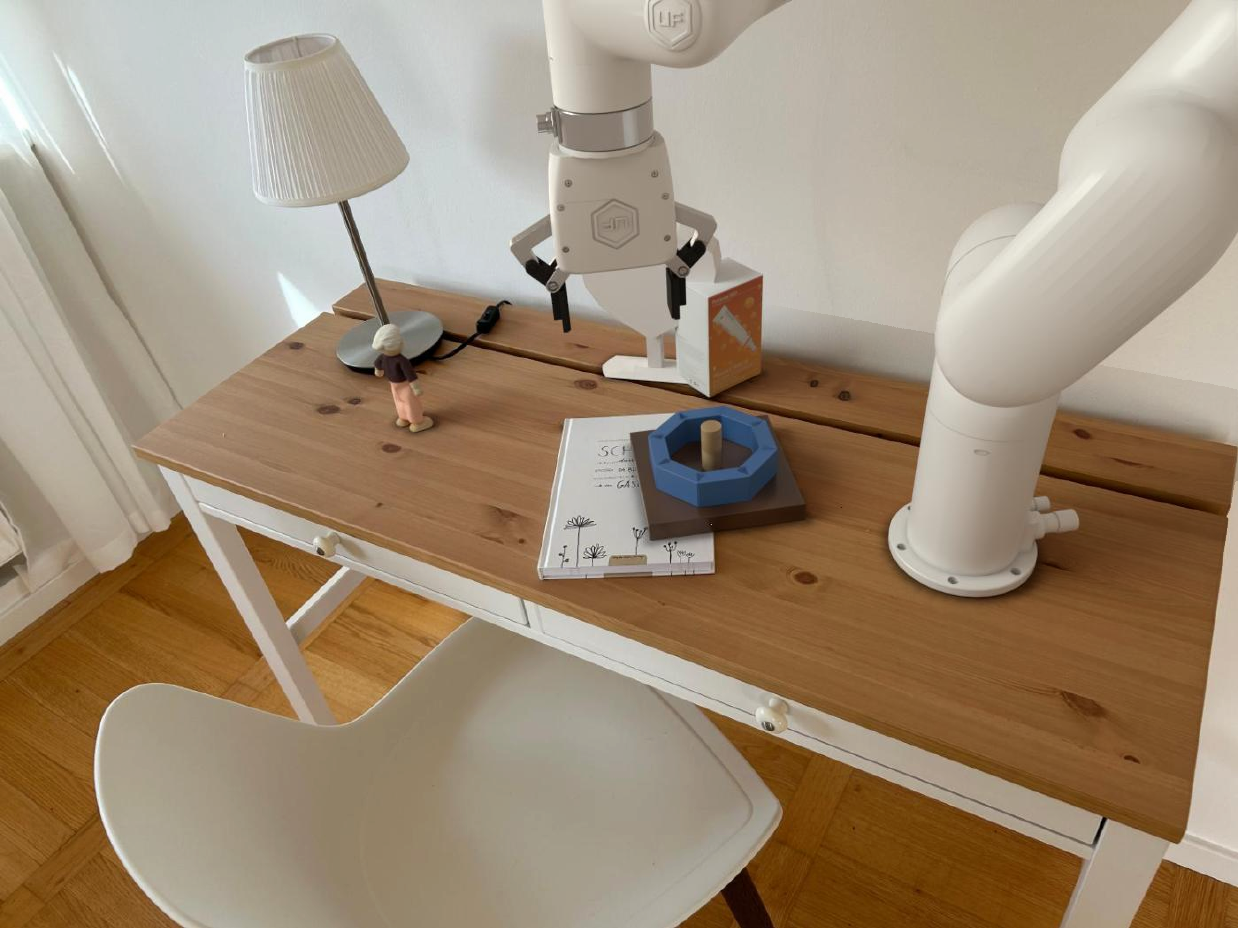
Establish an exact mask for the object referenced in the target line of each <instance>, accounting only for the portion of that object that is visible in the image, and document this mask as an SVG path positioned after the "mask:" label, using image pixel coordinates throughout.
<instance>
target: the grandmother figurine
mask: <svg viewBox="0 0 1238 928" xmlns="http://www.w3.org/2000/svg"><path fill="white" fill-rule="evenodd" d="M401 335H402V332H401V330H400V327H399V326H397V325H396V324H394V323H388V324H387V323H386V324H384V325H383V326H381V327H379V328H378V330H377V331H376V333H375V335H374V337H373V343H372V345H371V346H372V349H373V350H374V351H381V352H382V353H381V354H379V355H378V356H377V357H376V358H375V360H374V361H373V365H374V374H375V376H376V377H379V378H381V377H383V376H385V378H386V380H388V382H389V384H390V387H391V393H392V397H393V401H394V404H395V407H396V412H397V414H398V418H397V420H396V425H397V427H402V428H404V427H407V426H409V430H410V431H411V432H412V433H418V432H421V431H423V430H428V429H429V428H432V426H433V425H434V421H433V420H432V419H431V417H429V416H426V415H423V414H424V412H425V407H424V405H423V403H422V401H421V398H420V397H421V396H422V395H423V394H424V390H423V388H422V387H421V383H420V380H419V377H418V375H417V372H416V371H415V370H414V367H413V366H412V363H411V361H410V359H409V358H407V357H406V355H403V353H402V351H403V349H404V340H403V338H402V336H401Z"/></svg>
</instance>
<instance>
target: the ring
mask: <svg viewBox="0 0 1238 928" xmlns="http://www.w3.org/2000/svg"><path fill="white" fill-rule="evenodd" d="M754 416H755V415H752V414H749V413H746V412H743V411H741V410H737V409H735V408H732V407H730V406H727V405H719V406H718V405H717V406H711V407H704V408H695V409H687V410H679V411H676V412H675V413H674V414H673V415H671V416H670V417H669V418H667V419H666V420H665V421H664V422H663V423H661V424H660V426H659V425H658V427H657V428H655V429H656V430H655V429H654V430H655V431H653V432H652V433H651V434H650V435H649V436H648V440H649V453H650V462H651V466H652V470H653V475H654V479H655V484H656V488H657V489H658V490H660V491H662V492H665V493H667V494H669V495H671V496H674V497H676V498H678V499H681V500H683V501H685V502H687V503H690V504H692V505H694V506H697V507H707V506H714V505H721V504H729V503H736V502H744V501H749V500H751V499H752V498H753V497H754V496H755V495H756V494H757V493H758V492H759V491H760V490H761V489H762V488H763V487H764V486H765V485H766V484H767V483H768V482H769V481H770V480H771V479H772V477H773V476H774V475H775V474H776V473H777V447H776V444H775V442H774V440H773V437H772V435H771V432H770V430H769V428H768V425H767V423H766V421H765V420H763V419H760V418H757V417H754ZM708 420H715V421H718V422H720V423H721V425H722V438H723V439H726V440H729V441H731V442H734V443H736V444H739V445H742V446H744V447H747V448H749V449H751V450H752V453H753V455H752V456H751V457H750V458H749V459H748V460H747V461H746V462H745V463H744V464H743V465H741V466H740V467H738V468H730V469H723V470H716V471H708V472H699V471H696V470H694V469H692V468H689V467H687V466H684V465H682V464H679V463H677V462H675V461H672V460H670V457H671V456H672V455H673V454H674V453H675V452H676V451H678V450H679V449H680V448H681V447H682V446H683V445H684V444H685V443H687V442H693V441H701V425H702V423H703V422H705V421H708Z"/></svg>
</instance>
